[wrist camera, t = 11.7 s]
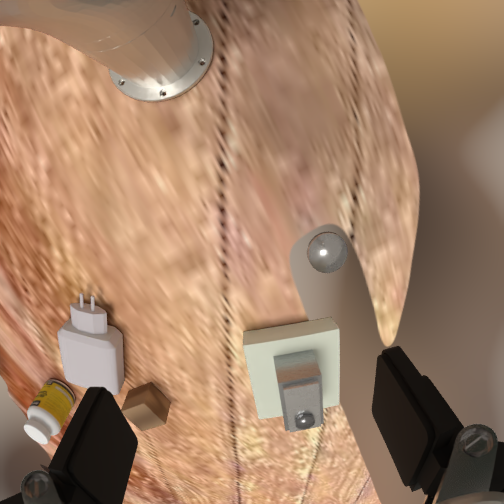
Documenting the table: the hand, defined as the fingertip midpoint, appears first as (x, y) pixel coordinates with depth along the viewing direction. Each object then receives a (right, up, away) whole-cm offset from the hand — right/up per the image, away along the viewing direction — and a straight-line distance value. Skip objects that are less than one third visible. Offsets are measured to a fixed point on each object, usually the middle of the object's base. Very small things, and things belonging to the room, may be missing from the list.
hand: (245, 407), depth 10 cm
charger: (-23, -7, +31) cm, 39 cm away
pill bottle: (-34, -20, +35) cm, 53 cm away
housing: (+6, -12, +29) cm, 32 cm away
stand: (+6, -11, +33) cm, 35 cm away
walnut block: (-16, -18, +35) cm, 42 cm away
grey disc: (+9, +5, +29) cm, 31 cm away
